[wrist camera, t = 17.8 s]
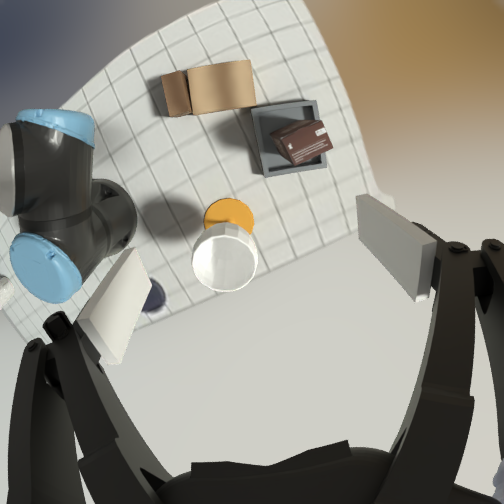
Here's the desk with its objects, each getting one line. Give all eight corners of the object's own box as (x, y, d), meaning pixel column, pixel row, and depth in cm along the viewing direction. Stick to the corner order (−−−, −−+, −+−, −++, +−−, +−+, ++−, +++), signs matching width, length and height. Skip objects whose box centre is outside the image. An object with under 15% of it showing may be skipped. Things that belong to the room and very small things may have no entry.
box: (280, 157, 44) (293, 167, 33) (268, 133, 42) (277, 136, 31) (312, 142, 43) (335, 148, 32) (300, 118, 41) (320, 116, 30)
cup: (196, 233, 50) (179, 279, 36) (216, 189, 47) (204, 220, 32) (240, 252, 52) (241, 303, 38) (262, 210, 49) (272, 249, 34)
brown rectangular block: (177, 117, 41) (169, 116, 36) (169, 80, 38) (160, 76, 33) (194, 112, 40) (188, 111, 36) (186, 75, 37) (179, 70, 33)
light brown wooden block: (196, 115, 41) (193, 114, 38) (190, 72, 38) (187, 69, 35) (255, 106, 41) (256, 105, 38) (249, 63, 37) (250, 59, 35)
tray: (263, 175, 46) (264, 177, 44) (250, 110, 41) (251, 109, 38) (322, 165, 45) (327, 167, 43) (312, 101, 40) (316, 100, 38)
